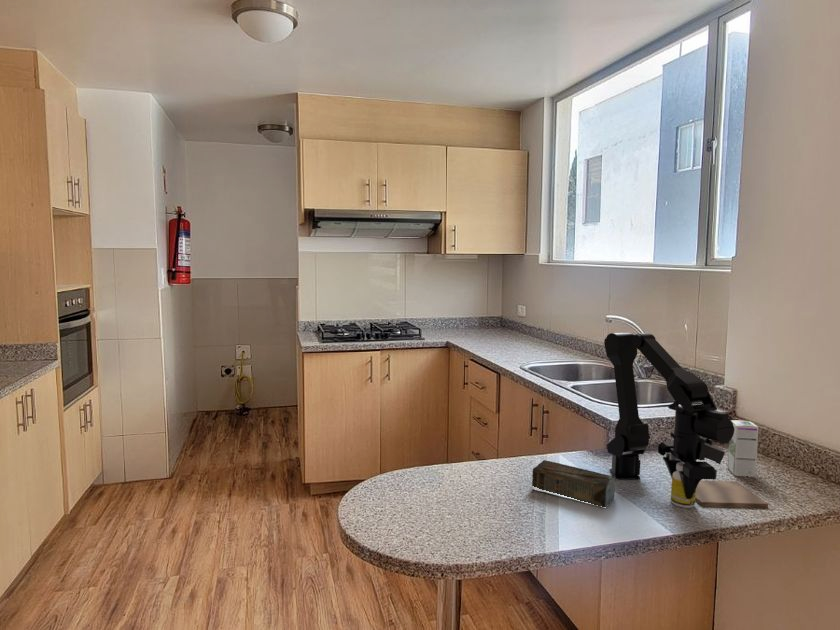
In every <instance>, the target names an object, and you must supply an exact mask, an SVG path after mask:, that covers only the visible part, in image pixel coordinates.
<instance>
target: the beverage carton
mask: <svg viewBox="0 0 840 630" xmlns="http://www.w3.org/2000/svg"><path fill="white" fill-rule="evenodd" d="M531 483H532V484H531V487H532V486H534V487H537V488H539V489H542V490H546V491H549V492H553V493H557V494H560V495H564V496H567V497H571V498H574V499H577V500H580V501H584V502H588V503H591V504H594V505H598V506H602V507H607V508H608V506H609V505H610V504H611V502H612V501H613V500H614V499H615V493H616V490H615V489H616V488H615V487H616V478H615V477H614V475H609V474H606V473H600V472H596V471H593V470H589V469H585V468H580V467H576V466H572V465H568V464H562V463H559V462H555V461H550V460H546V459H544V460H542V461H541V462H540V463H538V464H537V465H536V466H534V467H533V468H532V482H531ZM609 503H610V504H609ZM608 504H609V505H608ZM607 505H608V506H607Z"/></svg>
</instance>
